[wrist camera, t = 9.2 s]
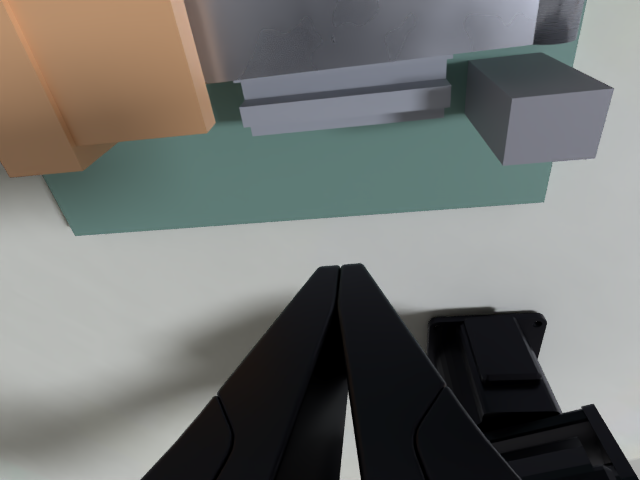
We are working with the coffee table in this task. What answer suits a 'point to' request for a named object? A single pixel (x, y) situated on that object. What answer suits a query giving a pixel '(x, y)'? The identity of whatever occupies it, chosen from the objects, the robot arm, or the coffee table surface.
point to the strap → (364, 31)
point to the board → (353, 144)
